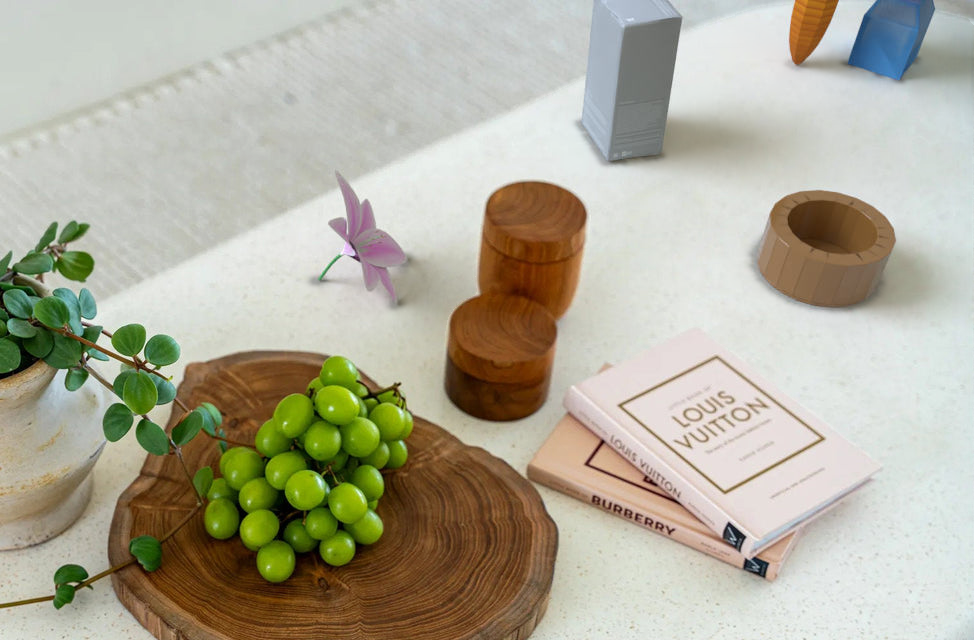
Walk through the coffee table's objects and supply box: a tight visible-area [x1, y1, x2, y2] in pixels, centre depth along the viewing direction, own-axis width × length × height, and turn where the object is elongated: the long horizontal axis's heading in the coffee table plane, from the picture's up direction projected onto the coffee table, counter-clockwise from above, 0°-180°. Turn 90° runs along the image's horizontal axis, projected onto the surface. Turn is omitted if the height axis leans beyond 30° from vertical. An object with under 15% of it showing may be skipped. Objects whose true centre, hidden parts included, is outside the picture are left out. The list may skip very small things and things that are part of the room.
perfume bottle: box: [846, 0, 936, 81], centre depth 132 cm, size 6×6×12 cm
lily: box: [317, 169, 408, 304], centre depth 105 cm, size 12×12×10 cm
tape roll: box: [756, 189, 897, 308], centre depth 108 cm, size 11×11×5 cm
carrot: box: [788, 0, 840, 66], centre depth 130 cm, size 5×5×15 cm
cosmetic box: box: [580, 0, 683, 162], centre depth 119 cm, size 8×7×16 cm
